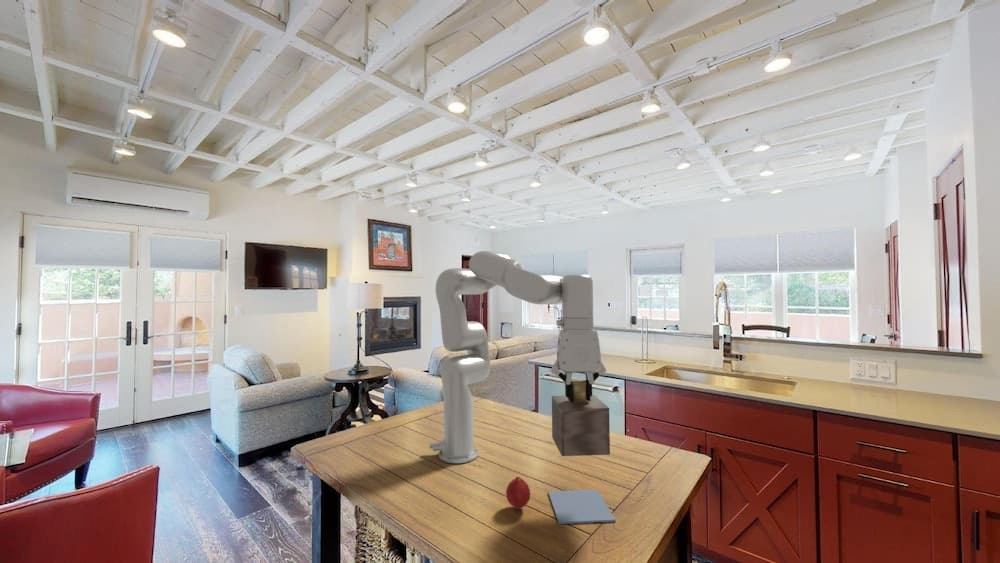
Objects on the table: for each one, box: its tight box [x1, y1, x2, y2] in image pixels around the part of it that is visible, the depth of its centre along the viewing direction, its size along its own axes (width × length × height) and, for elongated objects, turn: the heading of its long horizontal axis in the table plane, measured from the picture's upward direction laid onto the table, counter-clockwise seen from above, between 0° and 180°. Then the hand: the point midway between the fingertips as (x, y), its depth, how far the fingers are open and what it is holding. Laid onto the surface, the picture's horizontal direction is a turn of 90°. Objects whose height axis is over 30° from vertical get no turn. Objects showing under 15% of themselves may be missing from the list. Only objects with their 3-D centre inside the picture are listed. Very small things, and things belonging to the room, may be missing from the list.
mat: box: [547, 489, 616, 525], centre depth 91 cm, size 13×13×1 cm
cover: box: [551, 378, 611, 457], centre depth 91 cm, size 11×11×16 cm
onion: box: [505, 475, 531, 511], centre depth 90 cm, size 6×6×8 cm
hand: (578, 398), depth 92 cm, fingers closed on cover, 3 cm apart
